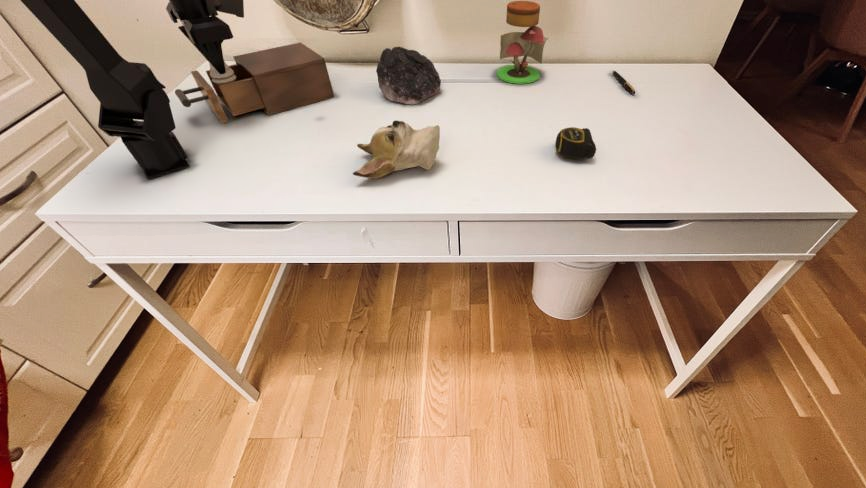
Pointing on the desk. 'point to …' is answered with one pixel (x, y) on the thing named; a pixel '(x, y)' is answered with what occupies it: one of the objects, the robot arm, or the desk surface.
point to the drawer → (226, 94)
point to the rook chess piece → (222, 75)
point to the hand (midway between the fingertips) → (220, 70)
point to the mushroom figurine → (522, 43)
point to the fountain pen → (624, 82)
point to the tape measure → (575, 143)
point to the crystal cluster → (407, 76)
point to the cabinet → (288, 76)
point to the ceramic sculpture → (399, 149)
